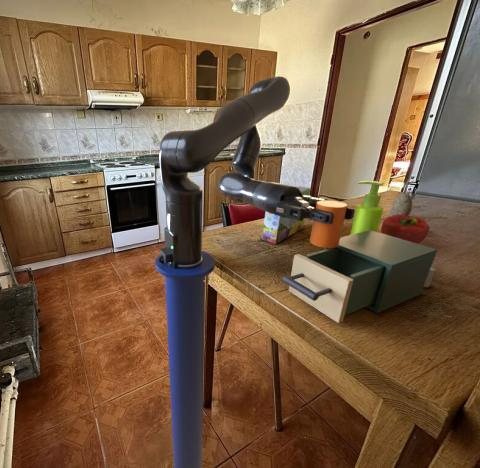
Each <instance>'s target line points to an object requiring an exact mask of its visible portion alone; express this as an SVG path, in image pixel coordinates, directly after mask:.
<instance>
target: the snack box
mask: <svg viewBox="0 0 480 468" xmlns="http://www.w3.org/2000/svg"><path fill="white" fill-rule="evenodd" d="M295 187H297V188H298V189H299V190H300V191H301V194H302V196H304V195H305V196H311V195H310V194H311V190H312V188H311V187H305V186H297V185H295ZM305 220H306V219H304V218H303V221H298V220H294V219H290V218H283V217H280V216H277V215H274V214H272V213H269V212H266V211H265V214H264V221H263V229H262V236H261V240H263V241H265V242H268V243H271V244H275V245H276V244H279V243H280V242H281V241H283V240H285V239H287V238H288V237H290V236H292V235H294V234H295V233H298V232H299V231H300V230H302V229H304V227H305Z"/></svg>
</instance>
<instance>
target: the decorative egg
mask: <svg viewBox="0 0 480 468" xmlns="http://www.w3.org/2000/svg"><path fill="white" fill-rule="evenodd" d="M412 209H413V200H412V197H411V195H410V194H409V193H407V192H403V193H401V194H399V195H398V196H397V197H396V198H395V200H394V201H393V202H392V204H391V207H390V211H389V212H390V215H391V217H392V216H394V215H398V214H402V215H407V216H410V214H411V212H412Z"/></svg>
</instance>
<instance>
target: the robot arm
mask: <svg viewBox="0 0 480 468" xmlns="http://www.w3.org/2000/svg"><path fill="white" fill-rule="evenodd" d="M291 92H292V88H291V83H290V80H288V78H287V77H285V76H282V75H281V76H280V75H279V76H278V75H277V76H274V77H273V76H272V77H269V78H265V79H261V80H258V81H255V82H254V83H253V84H252V85H251V88H250V90H249V92H248V93H247V94H244V95H241V96H239V97H236V98H233V99H232V100H230V101H228V102H226V103H225V104H223V105H222V106H221V107H219V109H217V111H216V112H215V114H214V117H213V120H212V123H210V124H208V125H206V126H204V127H202V128H198V129H192V130H189V129H188V130H175V131H169V132H167V133H166V134H164V135H163V137H162V139H161V141H160V144H159V151H158V152H159V153H158V156H159V157H158V158H159V170H160V179H161V188H162V190H163V192H164V195H165V214H166V216H165V217H166V218H165V219H166V226H165V227H164V228H163V233H164V247H162V248H159V250H158V251H159V255H160V257H159V258H158V261H159V262H160V263H162V264H164V263H169V264H170V265H171V266H172V267H173V268H174V269H176V268H182V269H187V268H194V267H196V266H198V265H200V264H201V263H202V251H203V207H204V206H203V199H204V197H203V195H204V194H203V189H202V187H201V186H200V185H198V184H197V183H196V182H194V181H193V180H192V179H191V177H190V175H189V174H195V173H199V172H201V171H203V170H204V169H206V168H207V167H208V166H209V165H210V164H211V163H212V162H213V161H214V160H215V159H216V158H217V157H218V156H219V155H220V154H221V153H222V152H223V151H224V149H226V148H228V147H229V146H230V145H231V144H233V143H234V142H235V141H236V140H238V139H239V141H238V144H237V146H236V149H235V152H234V155H233V158H232V162H231V166H232V168H233V169H234V170H235V171H229V172H227V173H224V174H223V175H221V177H220V178H219V180H218V184H217V187H218V190H219V192H220V193H221V194H222V195H224V196H225V197H227V198H228V199H231V200H232V201H233V202H235V203H239V204H242V203H244V204H246V205H249V206H250V207H251V206H252V207H254V208H257V209H259V210H261V211H263V212H265V213H266V212H269V213H272V214H274V215H277V216H280V217H283V218H290V219H294V220H298V221H303V218H304V219H305V220H306V221H313V220H315V221H318V222H321V223H324V224H332V222H333V218H334V214H333V213H331V212H327V211H323V210H320V209H316V203H317V202H318V201H338V202H341V201H340V200H337V199H333V198H329V197H326V196H323V195H318V196H317V197H313V196H312V195H309V196H305V195H304V196H302V194H301V191H300V190H299V189H298V188H297V187H296V186H294V185H289V184H284V183H280V182H274V181H264V180H260V179H255V171H256V169H255V168H256V166H257V165H256V164H257V162H258V159H259V156H260V152H261V149H262V137H261V133H260V130H259V128H258V124H259V123H261V122H262V121H263V120H264V119H266V118H267V117H269V116H270V115H272V114H273V113H275V112H278V111H280V110H282V109H283V108H284V107H285V106H286V105H287V103H288V101H289V99H290V96H291ZM355 212H356V209H354V208H352V207H349V206H347V209H346V214H345V218H344V220H348V221H350V220H353V219H354V216H355Z"/></svg>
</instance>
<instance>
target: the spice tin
mask: <svg viewBox="0 0 480 468" xmlns="http://www.w3.org/2000/svg"><path fill="white" fill-rule="evenodd" d="M338 201H339V200H337V201H318V202H317V203H316V209H320V210H323V211H327V212H331V213H333V214H334V218H333V222H332V224H324V223H321V222H318V221H315V220H312V226H311V231H310V236H309V243H310V244H312V245H313V246H315V247H319V248H323V249H326V248H335V247H337V246H338V245H339V240H340V238H341V237H342V232H343V226H344V223H345V222H344V221H345V219H344V218H345V214H346V209H347V207H348V204H347V203H345V202H342V201H340V202H338Z"/></svg>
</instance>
